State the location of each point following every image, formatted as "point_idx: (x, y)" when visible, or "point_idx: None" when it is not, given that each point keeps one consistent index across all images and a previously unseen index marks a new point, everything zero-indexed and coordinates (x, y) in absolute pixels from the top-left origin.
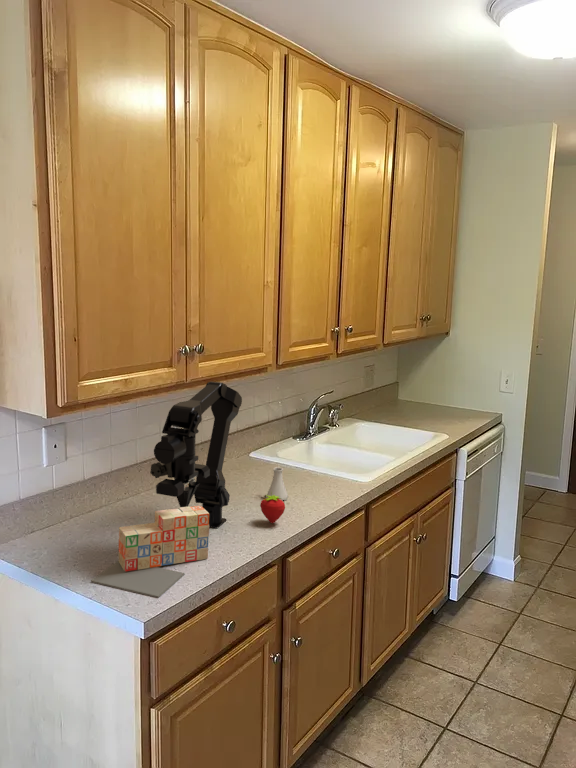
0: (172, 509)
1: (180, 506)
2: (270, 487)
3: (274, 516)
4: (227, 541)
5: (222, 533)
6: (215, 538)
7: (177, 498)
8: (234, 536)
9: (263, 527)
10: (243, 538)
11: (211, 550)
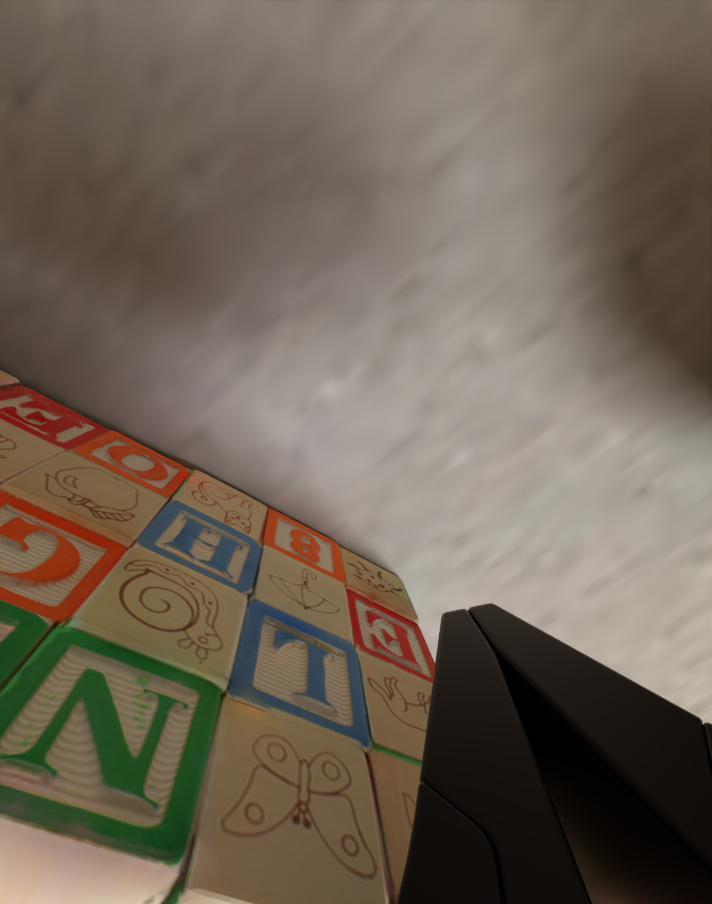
0: (24, 866)
1: (440, 661)
2: None
3: None
4: (594, 635)
5: (688, 543)
6: (598, 555)
7: (412, 830)
8: (678, 625)
9: None
10: (675, 679)
11: (434, 639)
